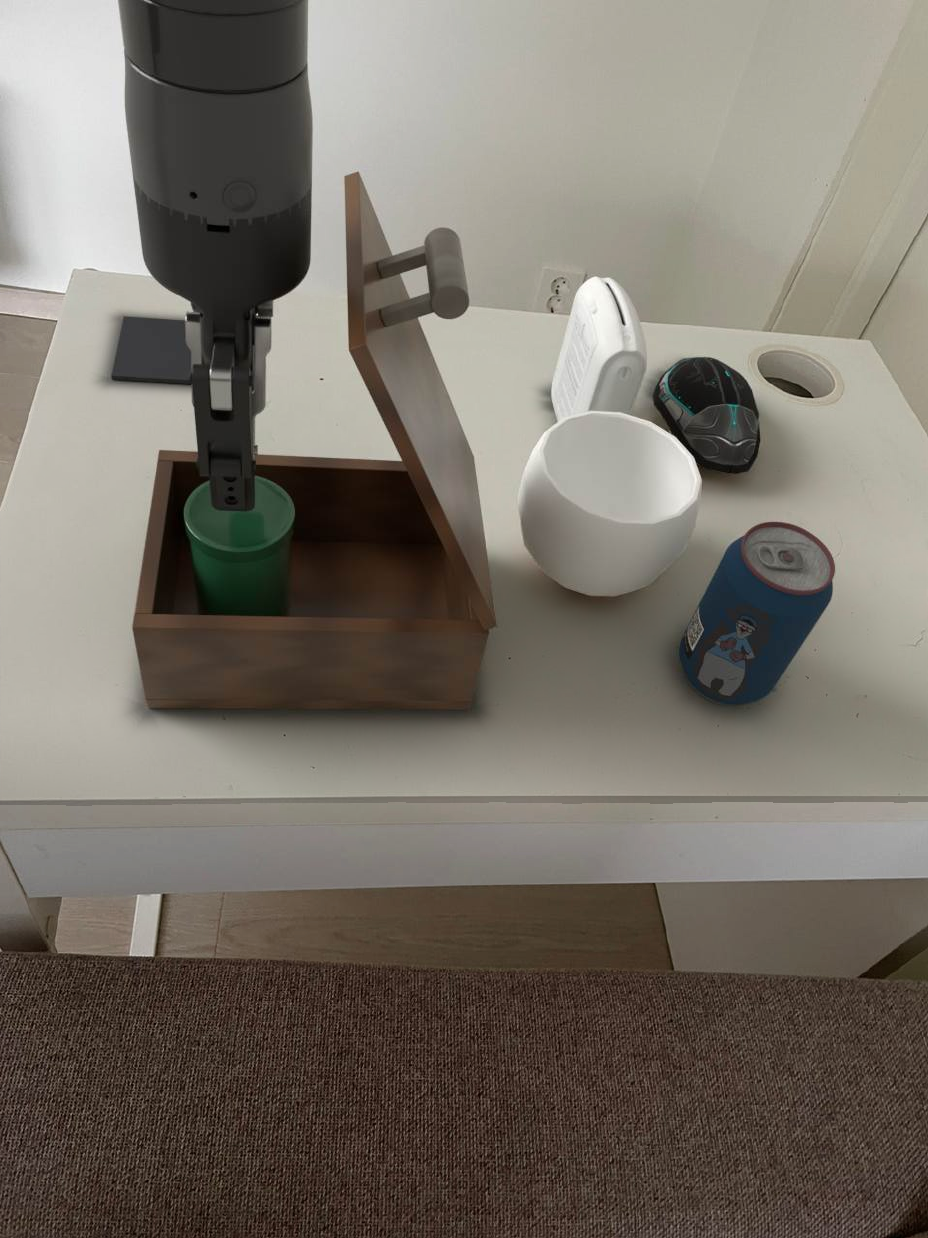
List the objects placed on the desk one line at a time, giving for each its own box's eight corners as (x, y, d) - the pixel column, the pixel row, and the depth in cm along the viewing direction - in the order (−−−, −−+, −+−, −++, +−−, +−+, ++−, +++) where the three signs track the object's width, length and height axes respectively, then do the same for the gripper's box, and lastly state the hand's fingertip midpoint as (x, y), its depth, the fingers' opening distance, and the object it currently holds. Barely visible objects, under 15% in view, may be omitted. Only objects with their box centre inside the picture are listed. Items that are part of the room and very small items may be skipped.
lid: (348, 349, 42) (461, 313, 41) (343, 175, 51) (436, 143, 50) (484, 630, 58) (568, 609, 57) (462, 460, 67) (534, 439, 66)
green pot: (190, 646, 63) (178, 549, 56) (198, 570, 67) (188, 471, 60) (292, 647, 64) (294, 553, 57) (294, 573, 68) (296, 475, 61)
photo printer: (618, 471, 81) (663, 343, 72) (568, 471, 80) (606, 341, 71) (591, 390, 87) (629, 262, 78) (544, 388, 86) (576, 260, 77)
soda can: (759, 637, 72) (830, 519, 63) (779, 718, 67) (858, 604, 58) (666, 628, 71) (724, 508, 62) (680, 710, 67) (744, 593, 57)
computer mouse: (730, 370, 92) (752, 316, 88) (770, 498, 82) (798, 444, 77) (639, 360, 91) (657, 306, 87) (668, 489, 80) (690, 434, 76)
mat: (111, 379, 79) (111, 375, 79) (124, 319, 84) (123, 315, 84) (215, 385, 81) (214, 381, 80) (221, 326, 86) (221, 322, 85)
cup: (547, 480, 79) (575, 381, 72) (690, 547, 77) (734, 452, 69) (475, 576, 72) (497, 476, 64) (631, 654, 69) (673, 560, 62)
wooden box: (147, 708, 61) (131, 627, 55) (169, 535, 70) (158, 449, 64) (469, 710, 64) (489, 633, 58) (451, 544, 73) (467, 463, 67)
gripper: (150, 81, 46) (179, 367, 59) (109, 250, 38) (154, 544, 50) (313, 97, 48) (308, 374, 60) (310, 265, 39) (305, 549, 51)
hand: (238, 451), depth 55 cm, fingers open, 8 cm apart
